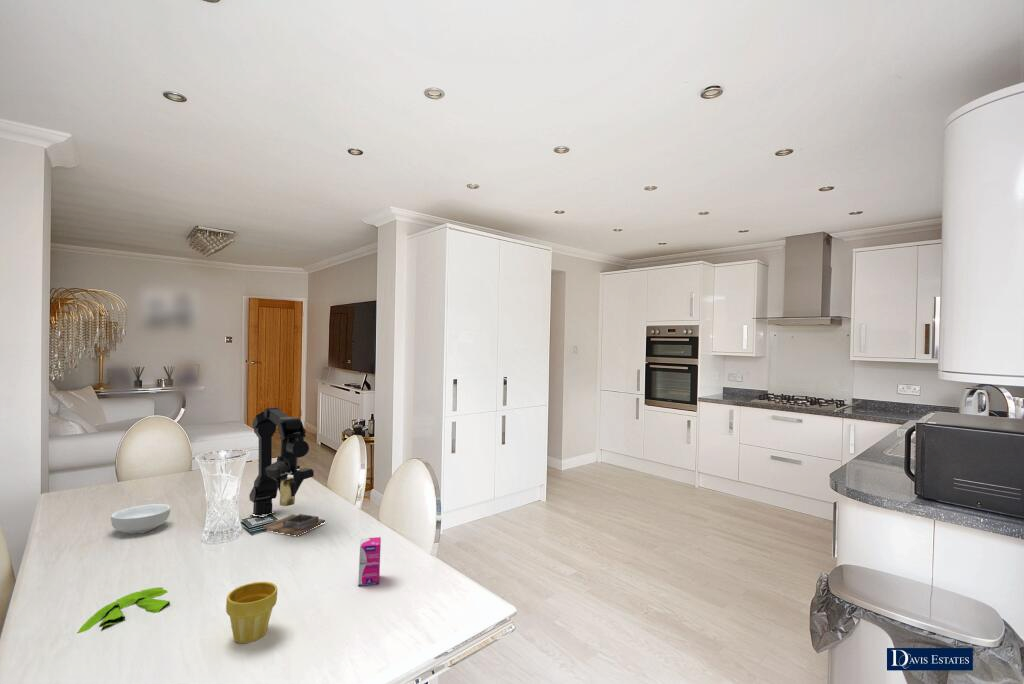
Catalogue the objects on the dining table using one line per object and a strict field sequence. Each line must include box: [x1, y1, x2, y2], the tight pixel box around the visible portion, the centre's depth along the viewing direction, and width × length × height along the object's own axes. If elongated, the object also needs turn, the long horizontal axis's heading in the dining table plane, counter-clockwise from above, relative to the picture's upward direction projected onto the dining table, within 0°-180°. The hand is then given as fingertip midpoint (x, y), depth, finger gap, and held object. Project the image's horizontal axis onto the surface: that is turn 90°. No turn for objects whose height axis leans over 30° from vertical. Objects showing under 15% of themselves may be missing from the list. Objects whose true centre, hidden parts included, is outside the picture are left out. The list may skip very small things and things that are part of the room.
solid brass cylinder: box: [279, 476, 296, 507], centre depth 169 cm, size 5×5×9 cm
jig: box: [262, 513, 326, 536], centre depth 172 cm, size 16×14×4 cm
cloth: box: [76, 587, 171, 634], centre depth 115 cm, size 20×22×2 cm
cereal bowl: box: [110, 503, 171, 535], centre depth 167 cm, size 17×17×7 cm
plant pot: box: [225, 581, 278, 644], centre depth 106 cm, size 10×10×10 cm
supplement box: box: [357, 536, 382, 587], centre depth 133 cm, size 6×6×12 cm
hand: (287, 495), depth 169 cm, fingers closed on solid brass cylinder, 5 cm apart
